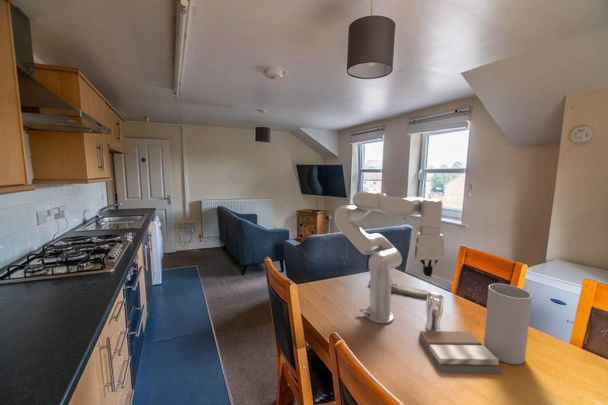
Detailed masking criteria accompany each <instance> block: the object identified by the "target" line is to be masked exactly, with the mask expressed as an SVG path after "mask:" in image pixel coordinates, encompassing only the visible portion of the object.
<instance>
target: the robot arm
mask: <svg viewBox="0 0 608 405" xmlns="http://www.w3.org/2000/svg"><path fill="white" fill-rule="evenodd" d="M372 211H373V212H374V211H375V212H378V213H379V212H381V213H382V214H385V215H388V216H394V217H401V218H408V217H411V216H420V218H419V219H420V220H419V226H417V227H416V232H417V231H418V233H417V235H416V239H415V243H414V244H415V245H414V258H413V259H414V260H415V262H419V263H420V264H422V265H423V266H422V267H423V268H422V274H424V276H426V277H432V274H433V270H434V268H433V267H434V266H435V265H436V264H437V263H440V262H442V261H443V260H444V259H445V241H444V240H445V239H444V235H443V234H442V233H441V232H442V218H443V217H442V216H443V202H442V201H441V199H436V198H423V197H419V196H413V197H412V196H411V197H393V196H388V195H387V194H386V193H384V192H376V191H374V190H364V191H358V192H356V193H355V194H353V197H352V204H347V205H342V206H341V205H340V206H339V207H338V208H336V210H335V211H334V218H333V219H334V222H335V225H336V227H337V229H338V230H339V231H340V233H342V234H343V235H344V236H345V237H347V239H348V240H349V241H350V242H351V243H352V245H353V246H354V247H355V248H356V249H357V250H358V251H359V252H360V253H361V254H362V255H363V256H369V255H371V256H370V257H369V259H368V267H369V276H370V277H369V281H370V284H369V304H367V306H365V307H362V306H359V312H361V313H363V314H364V315H365V316H366V318H367V319H368V321H370V322H373V323H375V324H378V325H379V324H380V325H386V324H390V323H392V322H393V321H394V314H393V312H391V301H392V292H391V282H392V278H391V274H390V271H392V270H394V269H396V268H398V267H400V265H401V264H402V262H403V257H402V254H401V252H400V251H399V250H398V249H397V248H396V247H395V245H393V243H391V242H390V240H388V239H387V238H386V237H385V235H383V234H381V233H379V232H372V233H367V232H366V231H365V230H364V229H363V228H362V227H361V226H360V225H359V224H357V223H355V221H360V220H362V219H364V218H365V217H366V216H367V215H369V214H370V213H371V212H372Z"/></svg>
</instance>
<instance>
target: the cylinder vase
mask: <svg viewBox="0 0 608 405" xmlns="http://www.w3.org/2000/svg"><path fill="white" fill-rule="evenodd" d="M532 297H533V296H532V293H530V292H529V291H528V290H526V289H523V288H521V287H518V286H515V285H510V284H506V283H491V284H489V285H488V290H487V300H486V301H487V302H486V314H485V323H484V324H485V325H484V336H483V346H484V347H486V348H487V349H488V350H489V351H490V352H491V353H492V354H493V355H494V356H495V357H496V358H498V362H501V363H504V364H508V365H509V364H510V365H522V364H523V363H524V362H525V361H526V353H527V346H528V345H527V343H528V333H529V325H530V316H531V315H530V314H531V305H532Z"/></svg>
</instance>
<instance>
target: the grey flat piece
mask: <svg viewBox="0 0 608 405" xmlns="http://www.w3.org/2000/svg"><path fill="white" fill-rule="evenodd" d="M418 339H419V341H420V342H421V343H422V345H423V346H424V348H425V349H426V351H427V352H428V354H429V355H430V356H431V359H432V360H433V362H434V363H435V365H436V366H437V368H438V369H439V370H440V372H441V373H442V374H444V373H445V374H446V373H447V374H448V373H450V374H454V373H455V374H502V368H501V367H500V366H499V364H498V365H468V364H440V363H439V362H438V361H437V359H436V358H435V357H434V355H433V354H432V353H431V351H430V345H483V344H482V342H481V341H480V340H478V338H477V337H475V336H474V334H472V332H470V331H447V330H446V331H445V330H444V331H442V330H441V331H429V330H425V331H424V330H421V331H419V335H418Z"/></svg>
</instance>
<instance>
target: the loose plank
mask: <svg viewBox="0 0 608 405" xmlns="http://www.w3.org/2000/svg"><path fill="white" fill-rule="evenodd" d="M430 351H431V353H432V354H433V355H434V357H435V358H436V359H437V361H438V362H439V363H440V364H468V365H498V366H499V360H498V358H496V357H495V356H494V355H493V354H492V353H491V352H490V351H489V350H488V349H487V348H486V347H484V344H482V345H430Z"/></svg>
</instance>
